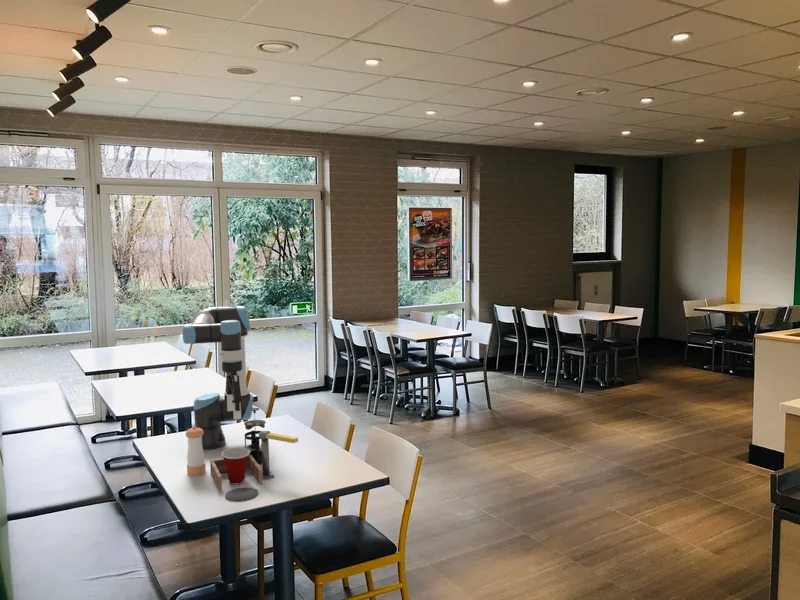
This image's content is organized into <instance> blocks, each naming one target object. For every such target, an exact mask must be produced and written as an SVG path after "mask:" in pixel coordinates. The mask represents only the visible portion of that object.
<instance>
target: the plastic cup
mask: <svg viewBox="0 0 800 600" xmlns="http://www.w3.org/2000/svg"><path fill="white" fill-rule="evenodd" d="M249 453H250V451H249V450H248V449H246V448H245V447H231V448H227V449H225V450H223V451H222V452H221V456H222V459H224V461H225V466H226V471H227V474H226V475H227V479H228V482H229V483H230V484H232V485H237V484H241V483H244V482H245V479H246V472H247V470H246V467H247V459H248V455H249Z"/></svg>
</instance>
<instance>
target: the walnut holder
mask: <svg viewBox="0 0 800 600" xmlns="http://www.w3.org/2000/svg"><path fill="white" fill-rule="evenodd" d="M209 464H210V476H211V479H212V480H213V483H214V485H215V487H216V489H217V491H218V492H219V493H222V492H223V483H222V482H223V480H222V475H225V474H226V475H228V474H227V471H226V466H225V461H224V458H217V459H212V460H210V461H209ZM261 467H262V466H260V464H258V463H257V462H256V461H255V459H254V458H253V456H252V455H251V454H250V455H248V459H247V467H246V471H249V472H250V473H251V475H252V477H254V479H255V481H256V482H257V484H258V485H259V486H262V485H263V479H262V473H263V472H262V468H261Z"/></svg>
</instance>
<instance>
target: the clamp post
mask: <svg viewBox="0 0 800 600" xmlns="http://www.w3.org/2000/svg"><path fill="white" fill-rule="evenodd" d="M260 441H261V443H260V444H261V446H262V464H261V467H262V468H261V469H262V480H268V479H273V478H275V474H274V473H273V472H272V471H270V447H269V446H270V443H269V441H270V440H269V439H260Z"/></svg>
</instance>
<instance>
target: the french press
mask: <svg viewBox="0 0 800 600" xmlns="http://www.w3.org/2000/svg"><path fill="white" fill-rule="evenodd" d="M249 410H250V411H252V414H253V415H254V416H253V417H254V418H253V420H251V419H250V420H247V421H245V422H244V423H243V424H244V427H245V430H247V431H249V432H245V434H244V448H246V449H248V450H249V451H250V453H249V455H250V454H251V455H252V456H253V458H254V459H255V461H256V462H257V463H258V465H262V446H261V443H260V440H261V439H260V438H259V432H261V431H262V430H256V429H257V427H261V428H262V429H264V428H265V427H266V426H265V424H266V420H263V419H256V413H257V411H259V410H260V408H259V407H253V408H251V409H249ZM253 428H254V430H251V429H253ZM250 430H251V431H250ZM257 435H258V436H257ZM247 440H249V441H250V442H251V444H248V445H247Z"/></svg>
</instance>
